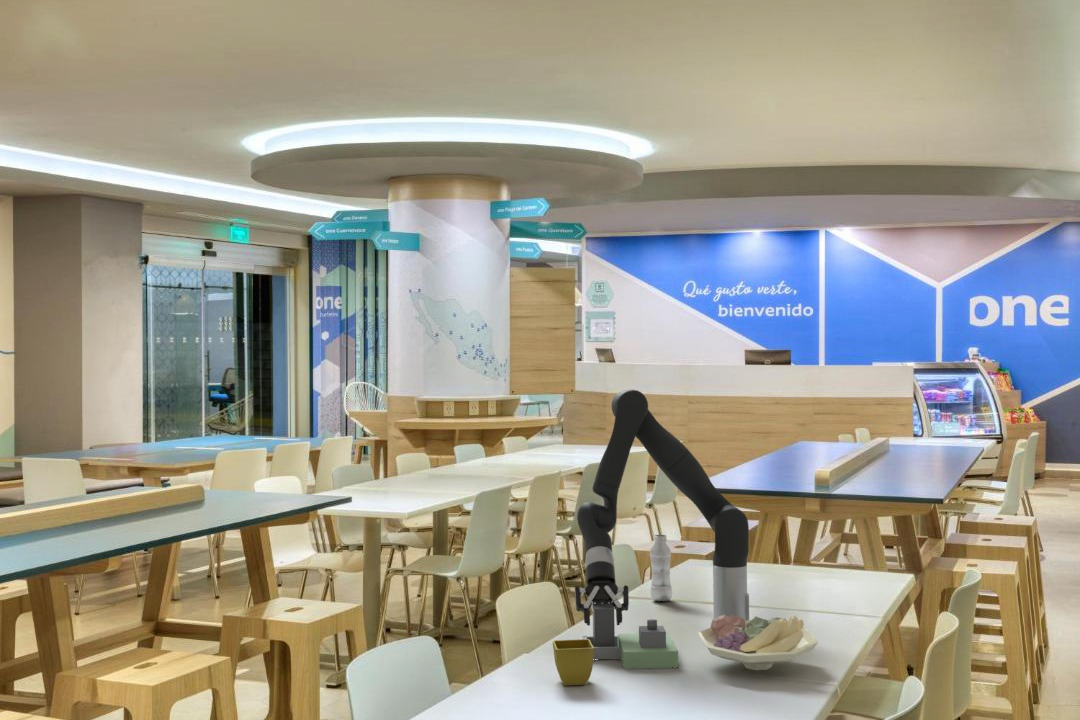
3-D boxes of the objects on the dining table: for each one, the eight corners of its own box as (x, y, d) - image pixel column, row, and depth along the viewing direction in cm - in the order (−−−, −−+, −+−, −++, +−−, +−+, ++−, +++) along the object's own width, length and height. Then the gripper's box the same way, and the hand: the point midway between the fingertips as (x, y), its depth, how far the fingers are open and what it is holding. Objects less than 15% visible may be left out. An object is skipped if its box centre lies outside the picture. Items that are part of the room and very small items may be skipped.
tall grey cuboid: (612, 650, 287) (612, 603, 287) (614, 656, 281) (614, 608, 281) (593, 650, 287) (592, 603, 287) (594, 656, 281) (594, 608, 281)
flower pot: (552, 678, 263) (552, 639, 263) (590, 676, 264) (589, 638, 264) (556, 689, 254) (556, 649, 254) (595, 687, 255) (594, 647, 255)
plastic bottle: (671, 603, 341) (670, 537, 341) (649, 603, 342) (648, 537, 342) (673, 599, 347) (672, 534, 347) (651, 598, 348) (650, 533, 348)
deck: (668, 646, 290) (667, 607, 290) (678, 667, 270) (677, 626, 270) (582, 647, 290) (582, 609, 290) (586, 669, 270) (585, 627, 270)
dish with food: (794, 690, 251) (793, 626, 251) (679, 673, 266) (678, 612, 266) (833, 660, 275) (832, 602, 275) (725, 646, 290) (724, 591, 289)
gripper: (572, 560, 292) (575, 616, 280) (628, 559, 292) (633, 615, 280) (572, 576, 297) (574, 632, 285) (626, 576, 297) (631, 631, 285)
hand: (603, 623), depth 283 cm, fingers open, 7 cm apart
